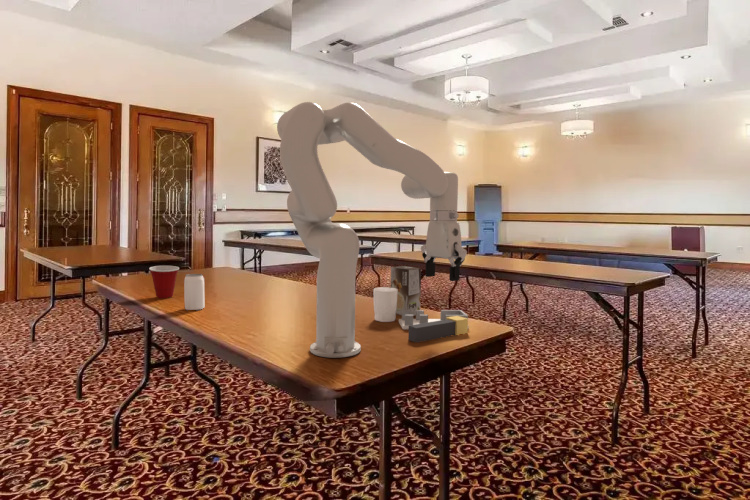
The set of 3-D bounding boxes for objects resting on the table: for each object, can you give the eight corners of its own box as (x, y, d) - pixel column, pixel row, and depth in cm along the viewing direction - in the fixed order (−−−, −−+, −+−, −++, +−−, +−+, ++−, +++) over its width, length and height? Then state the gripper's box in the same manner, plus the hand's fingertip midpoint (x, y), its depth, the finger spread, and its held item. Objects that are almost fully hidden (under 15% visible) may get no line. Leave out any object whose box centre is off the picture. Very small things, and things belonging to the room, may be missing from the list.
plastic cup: (153, 301, 170) (153, 269, 170) (146, 296, 179) (145, 266, 178) (183, 297, 177) (183, 267, 176) (175, 293, 186) (174, 264, 185)
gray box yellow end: (417, 343, 120) (417, 327, 120) (407, 339, 124) (407, 323, 124) (467, 333, 131) (468, 318, 131) (456, 330, 135) (457, 315, 134)
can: (185, 307, 160) (185, 273, 159) (205, 306, 162) (204, 273, 161) (183, 311, 154) (183, 276, 153) (204, 310, 156) (203, 275, 155)
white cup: (393, 323, 142) (393, 292, 141) (369, 321, 144) (369, 290, 143) (399, 318, 149) (400, 288, 148) (377, 316, 152) (377, 286, 151)
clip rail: (468, 329, 136) (468, 315, 136) (402, 329, 135) (403, 316, 134) (460, 321, 145) (460, 309, 145) (398, 322, 144) (398, 309, 143)
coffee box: (421, 314, 155) (422, 268, 154) (408, 317, 151) (409, 269, 149) (402, 310, 162) (403, 265, 161) (389, 312, 158) (390, 266, 156)
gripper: (476, 217, 121) (474, 281, 122) (432, 217, 135) (431, 274, 136) (456, 217, 116) (454, 283, 118) (412, 216, 130) (411, 275, 132)
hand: (441, 278), depth 127 cm, fingers open, 9 cm apart
